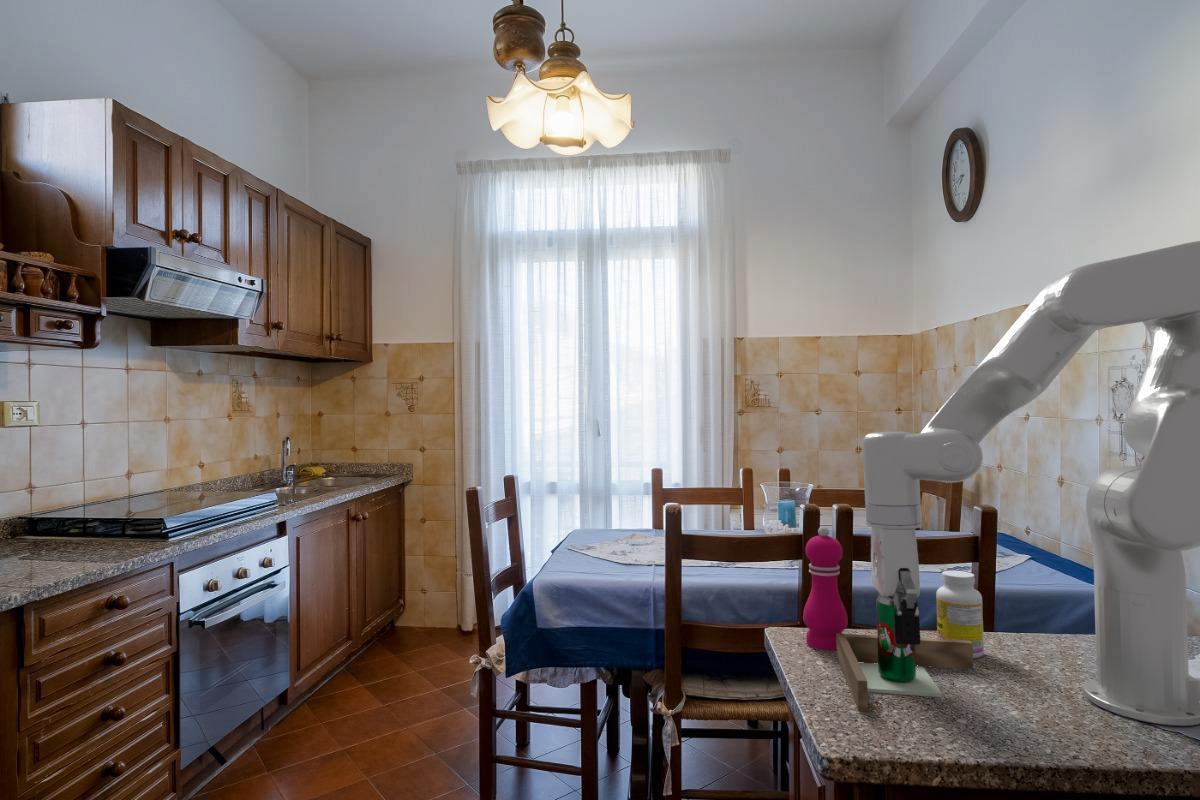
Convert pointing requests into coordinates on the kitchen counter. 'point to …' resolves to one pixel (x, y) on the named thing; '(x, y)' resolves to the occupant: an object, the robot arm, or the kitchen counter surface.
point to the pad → (917, 686)
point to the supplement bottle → (960, 610)
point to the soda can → (892, 646)
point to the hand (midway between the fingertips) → (899, 632)
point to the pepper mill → (824, 593)
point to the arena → (866, 651)
